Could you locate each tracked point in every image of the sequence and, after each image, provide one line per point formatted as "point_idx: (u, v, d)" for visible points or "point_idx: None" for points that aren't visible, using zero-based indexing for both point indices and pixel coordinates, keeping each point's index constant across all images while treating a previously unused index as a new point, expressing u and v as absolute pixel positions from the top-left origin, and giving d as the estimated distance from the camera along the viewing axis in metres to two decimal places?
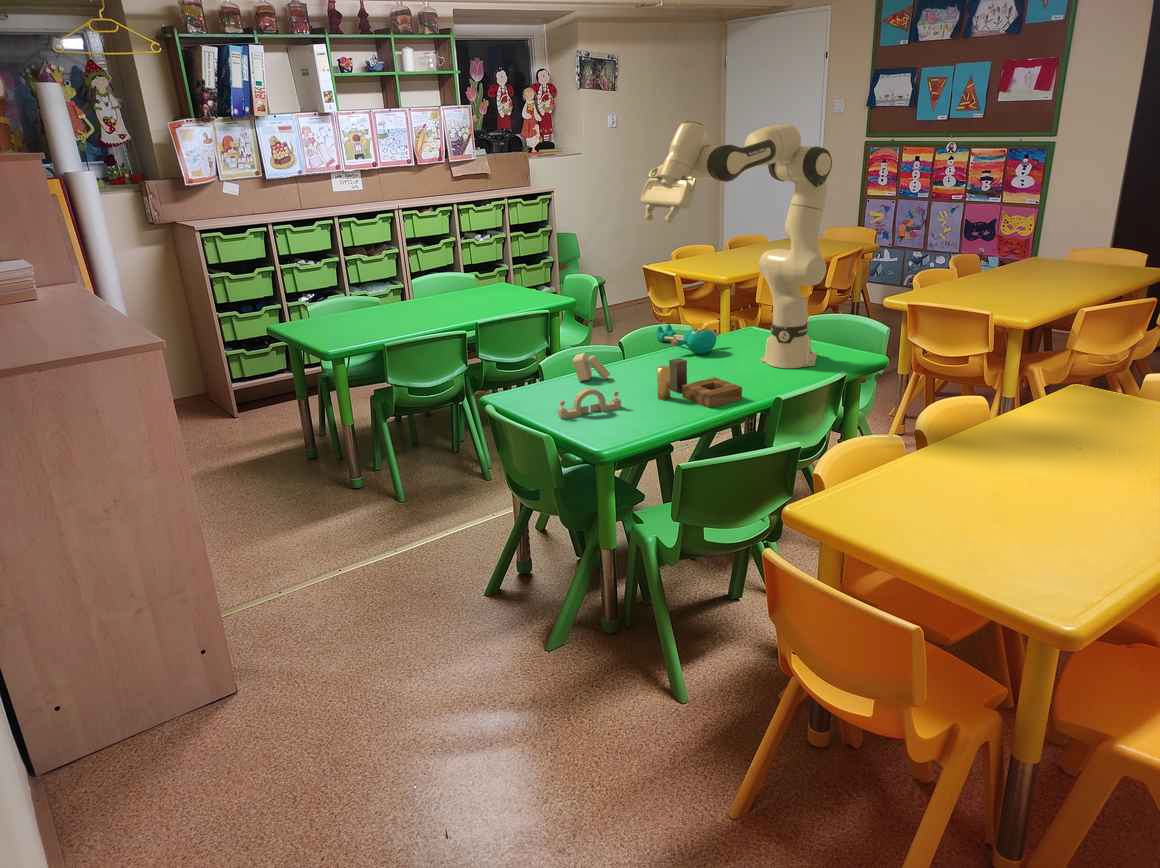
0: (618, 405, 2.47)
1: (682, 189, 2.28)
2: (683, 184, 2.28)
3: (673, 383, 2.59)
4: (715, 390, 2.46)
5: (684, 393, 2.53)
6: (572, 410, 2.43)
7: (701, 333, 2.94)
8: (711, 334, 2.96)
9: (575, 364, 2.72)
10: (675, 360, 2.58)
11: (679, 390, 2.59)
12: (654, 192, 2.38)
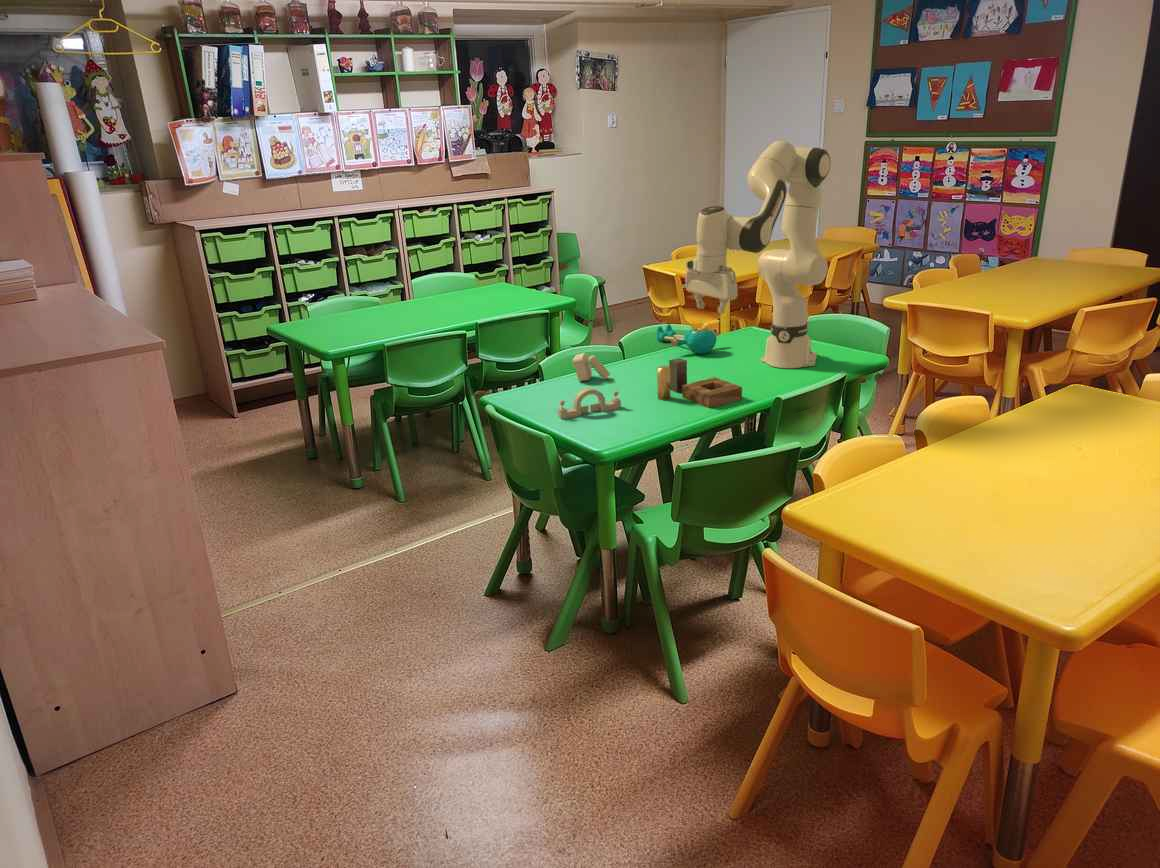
0: (618, 405, 2.47)
1: (724, 284, 2.31)
2: (723, 278, 2.31)
3: (673, 383, 2.59)
4: (715, 390, 2.46)
5: (684, 393, 2.53)
6: (572, 410, 2.43)
7: (701, 333, 2.95)
8: (711, 334, 2.96)
9: (575, 364, 2.72)
10: (675, 360, 2.58)
11: (679, 390, 2.59)
12: (697, 283, 2.42)
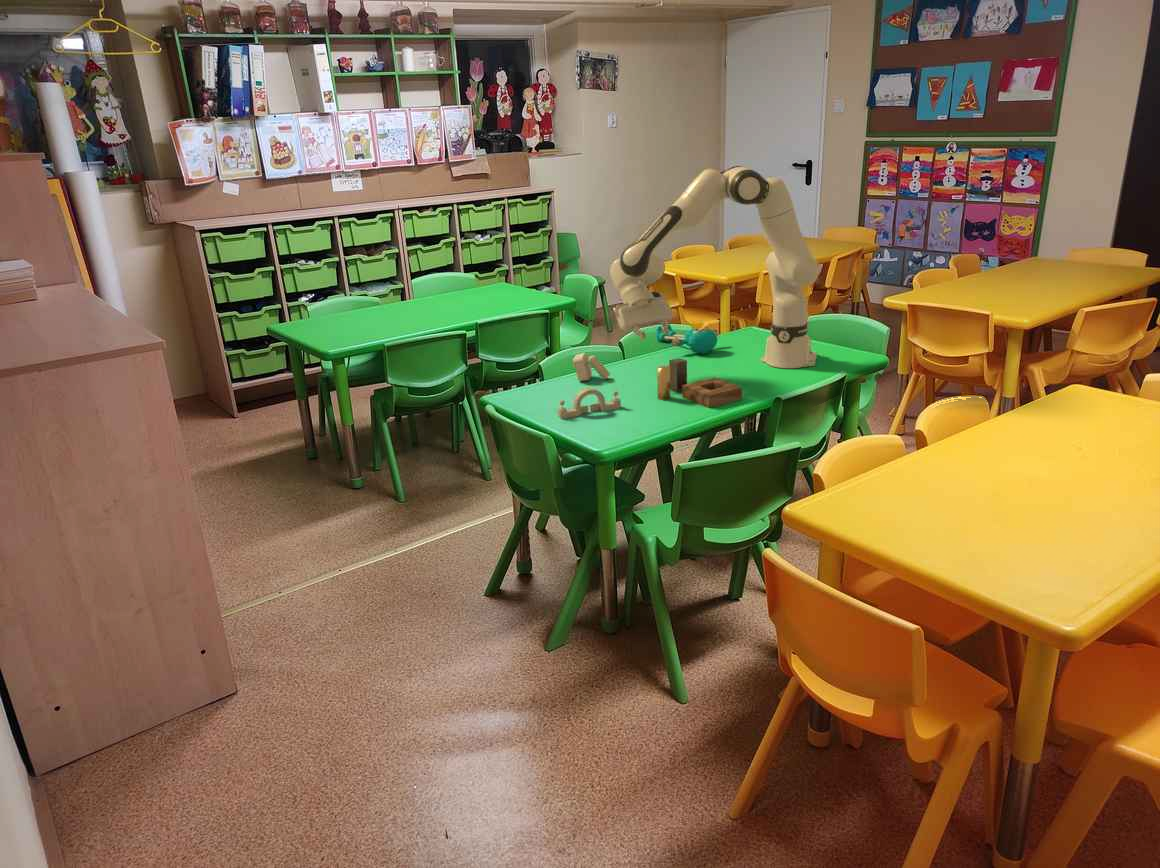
0: (618, 405, 2.47)
1: None
2: None
3: (673, 383, 2.59)
4: (715, 390, 2.46)
5: (684, 393, 2.53)
6: (572, 410, 2.43)
7: (702, 333, 2.95)
8: (712, 334, 2.97)
9: (575, 364, 2.72)
10: (675, 360, 2.58)
11: (679, 390, 2.59)
12: None
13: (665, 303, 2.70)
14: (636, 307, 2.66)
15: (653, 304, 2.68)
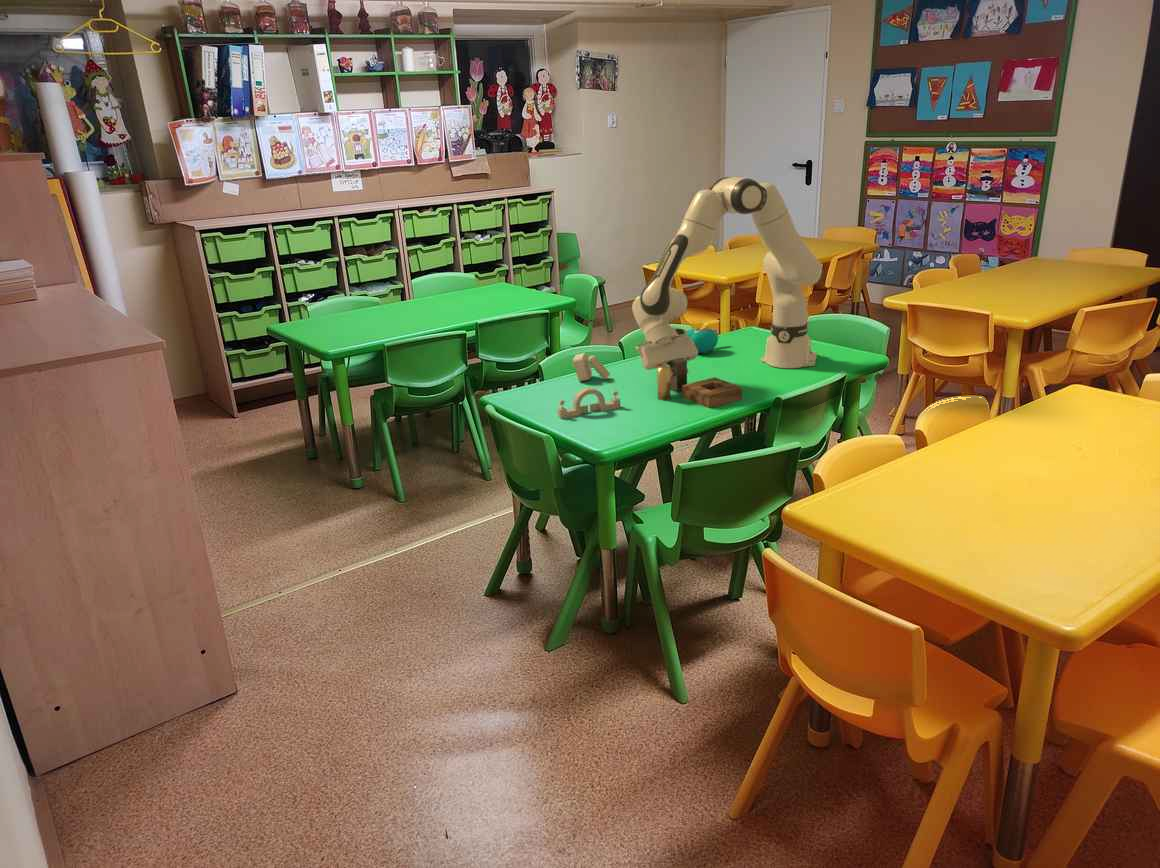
0: (617, 405, 2.47)
1: None
2: None
3: (673, 383, 2.59)
4: (715, 390, 2.46)
5: (684, 393, 2.53)
6: (572, 410, 2.43)
7: (704, 332, 2.95)
8: (713, 333, 2.97)
9: (575, 364, 2.72)
10: (675, 360, 2.58)
11: (679, 390, 2.59)
12: None
13: (689, 340, 2.64)
14: (659, 345, 2.59)
15: (677, 341, 2.62)
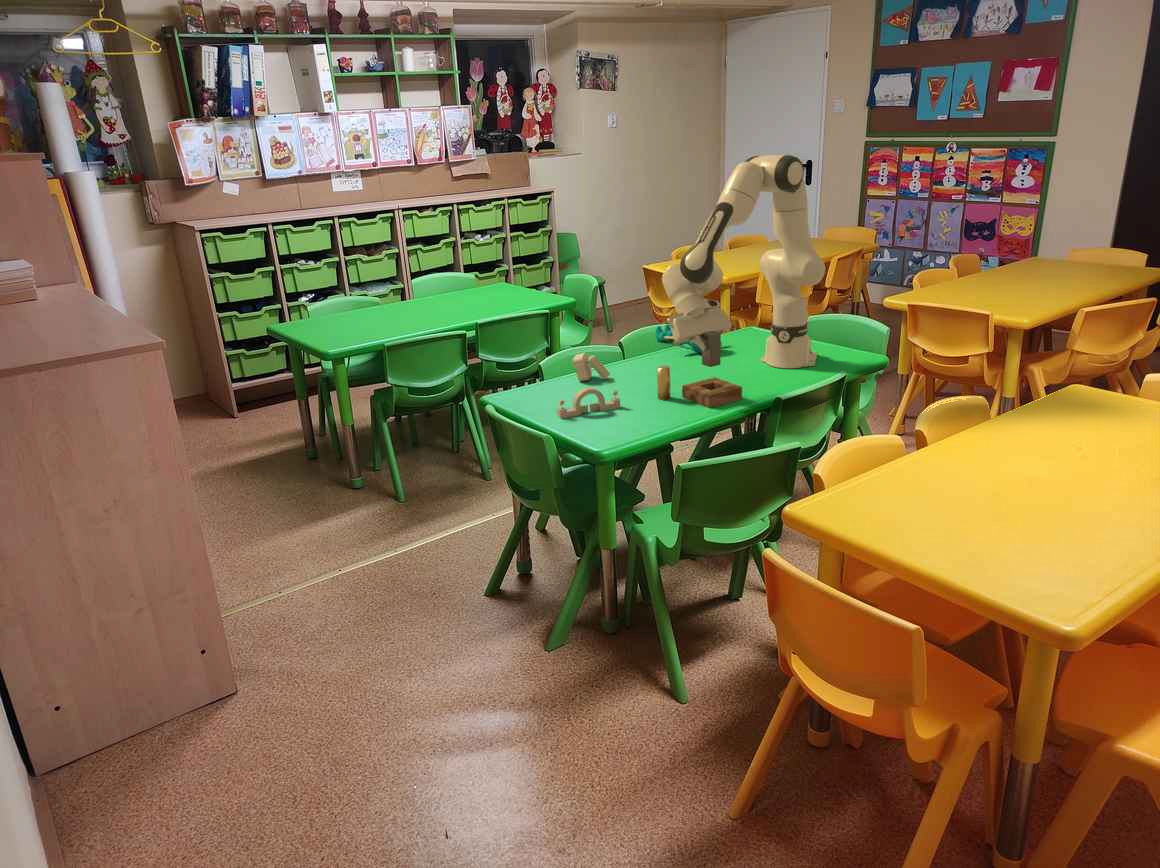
0: (617, 404, 2.47)
1: None
2: None
3: (705, 357, 2.46)
4: (715, 390, 2.46)
5: (684, 393, 2.53)
6: (571, 409, 2.43)
7: None
8: None
9: (575, 364, 2.72)
10: (708, 332, 2.45)
11: (712, 364, 2.46)
12: None
13: (722, 312, 2.51)
14: (692, 317, 2.46)
15: (710, 313, 2.49)
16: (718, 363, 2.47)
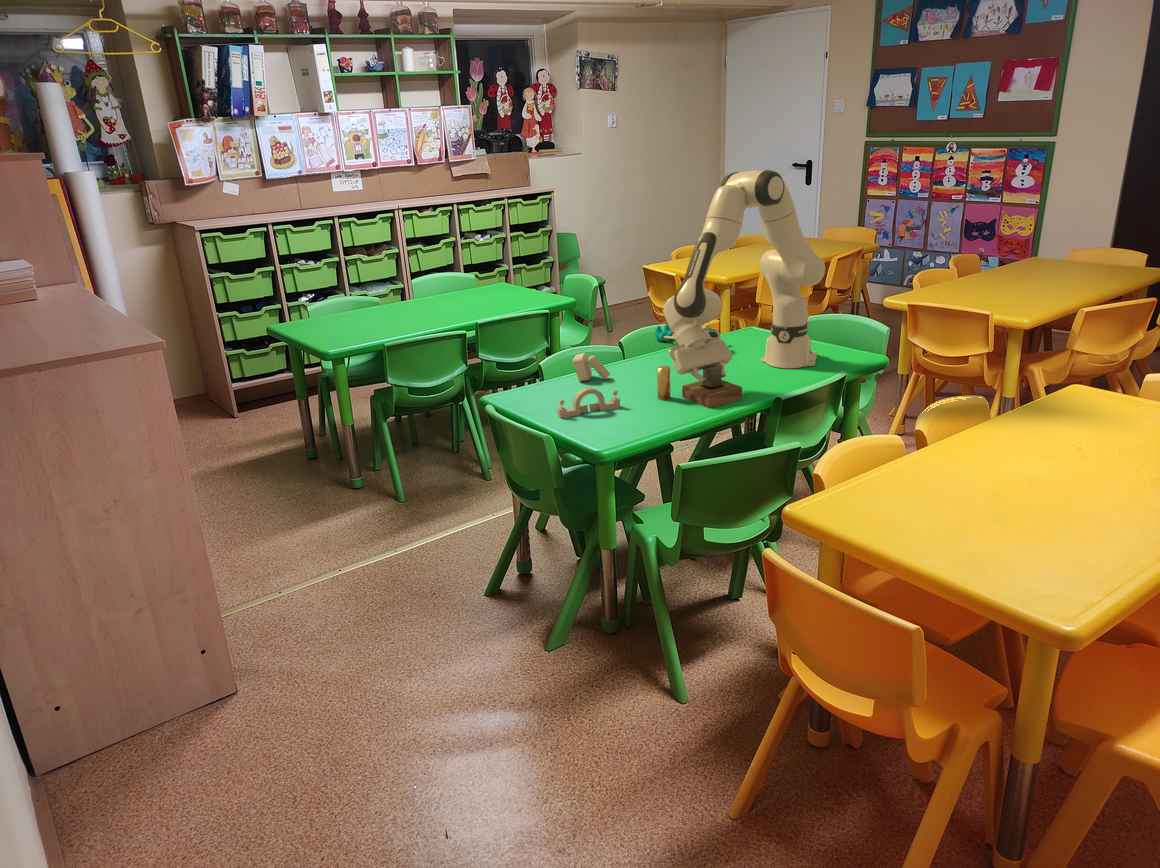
0: (617, 404, 2.47)
1: None
2: None
3: None
4: (715, 390, 2.46)
5: (684, 393, 2.53)
6: (571, 409, 2.43)
7: None
8: None
9: (575, 364, 2.72)
10: (709, 367, 2.49)
11: None
12: None
13: (723, 343, 2.54)
14: (693, 349, 2.49)
15: (710, 345, 2.52)
16: None
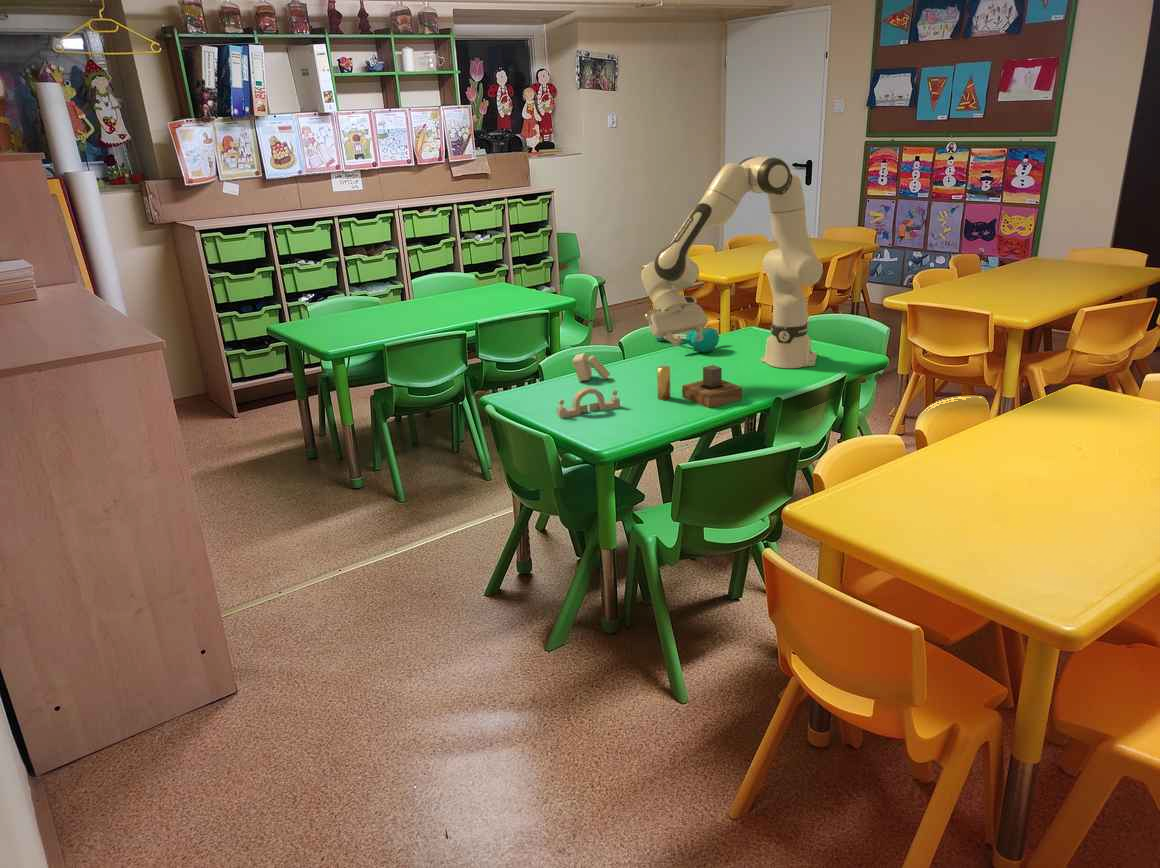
0: (617, 404, 2.48)
1: None
2: None
3: None
4: (715, 390, 2.46)
5: (684, 393, 2.53)
6: (571, 409, 2.43)
7: (705, 331, 2.96)
8: (714, 332, 2.98)
9: (575, 364, 2.72)
10: (710, 367, 2.49)
11: None
12: None
13: (699, 308, 2.60)
14: (669, 313, 2.56)
15: (686, 309, 2.59)
16: None
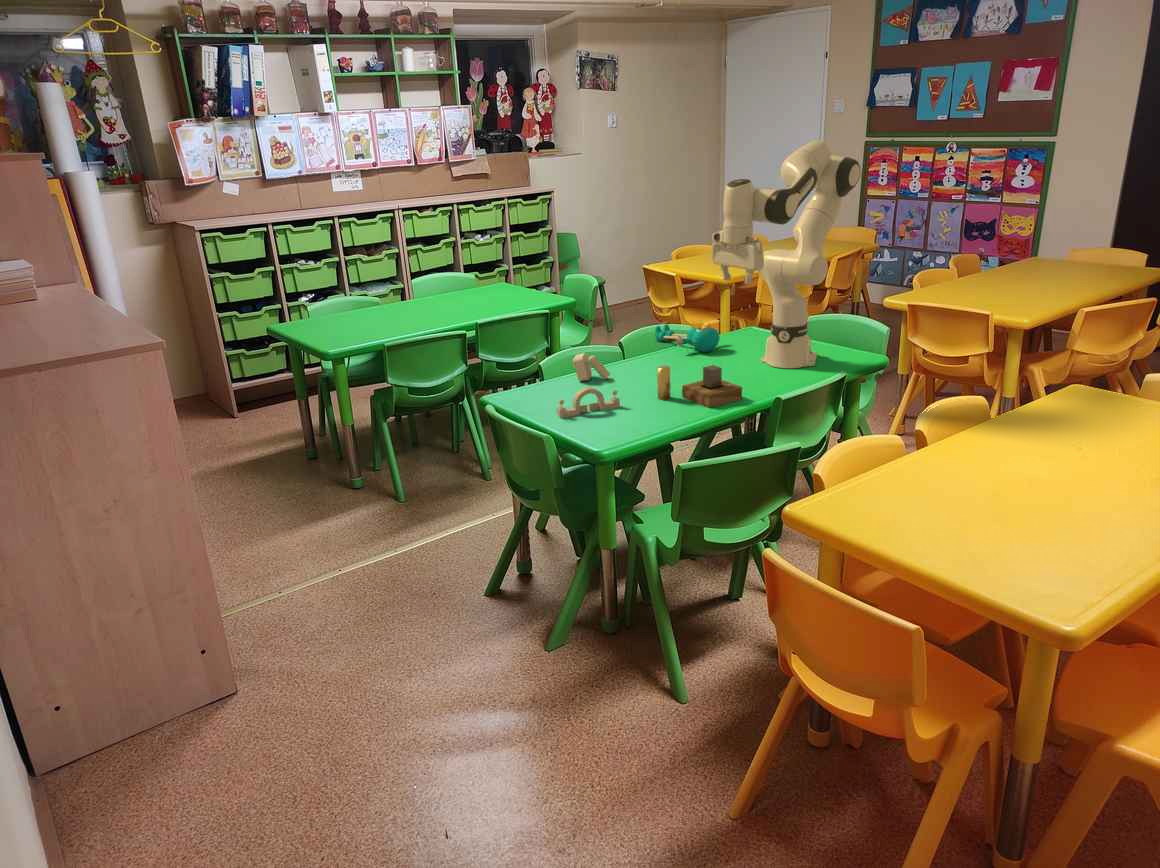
0: (617, 404, 2.48)
1: (751, 254, 2.38)
2: (750, 249, 2.38)
3: None
4: (715, 390, 2.46)
5: (684, 393, 2.53)
6: (571, 409, 2.43)
7: (706, 331, 2.97)
8: (715, 332, 2.99)
9: (575, 364, 2.72)
10: (710, 367, 2.49)
11: None
12: (723, 254, 2.48)
13: None
14: None
15: None
16: None
